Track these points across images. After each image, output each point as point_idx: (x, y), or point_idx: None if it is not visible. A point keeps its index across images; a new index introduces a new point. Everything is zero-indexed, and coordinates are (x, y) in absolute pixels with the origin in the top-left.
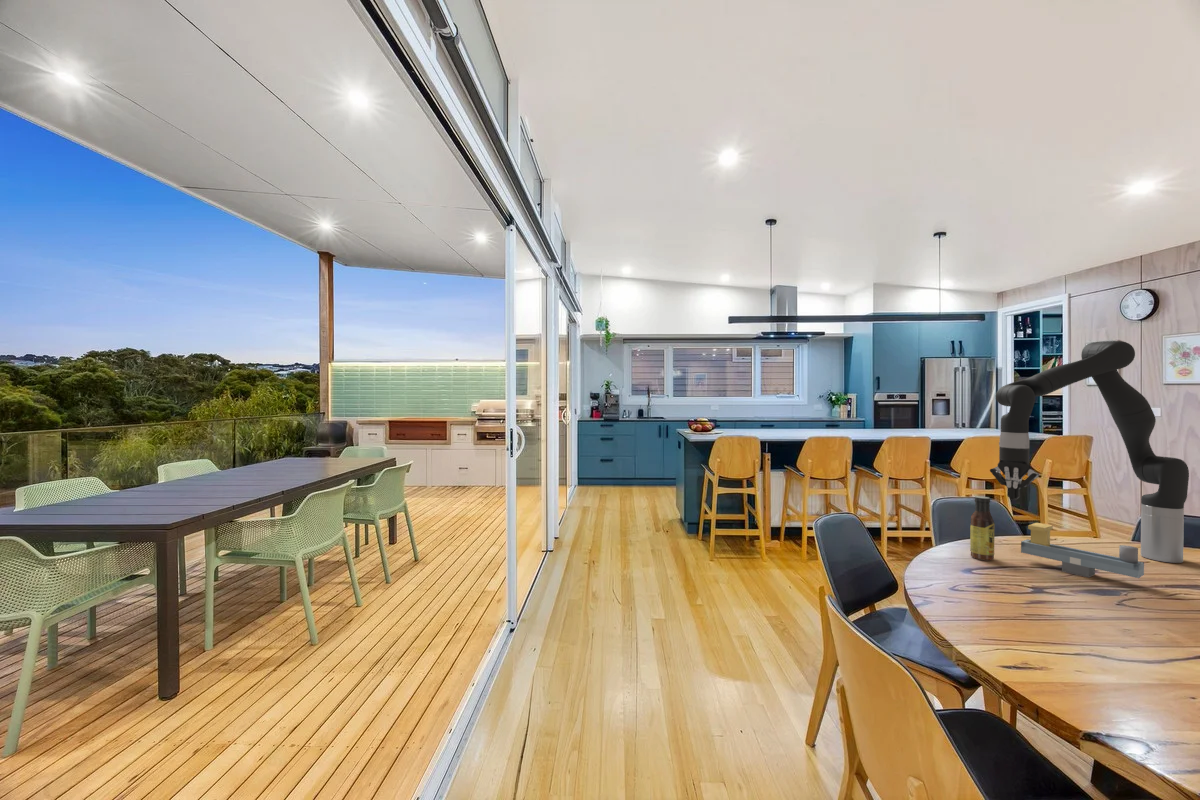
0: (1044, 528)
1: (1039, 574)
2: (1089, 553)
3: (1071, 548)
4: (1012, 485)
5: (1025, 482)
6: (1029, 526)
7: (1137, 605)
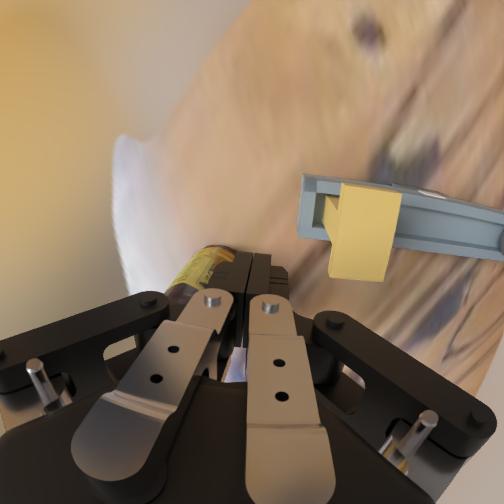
0: (382, 281)
1: (348, 297)
2: (456, 213)
3: (423, 204)
4: (231, 343)
5: (348, 409)
6: (333, 275)
7: (466, 340)
